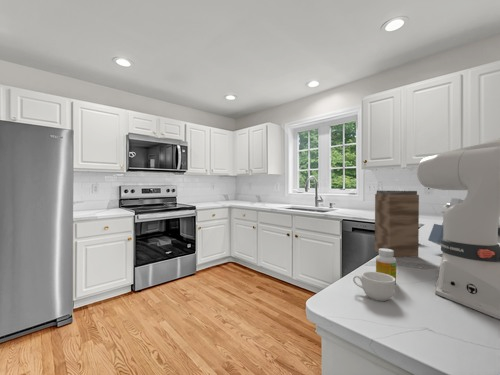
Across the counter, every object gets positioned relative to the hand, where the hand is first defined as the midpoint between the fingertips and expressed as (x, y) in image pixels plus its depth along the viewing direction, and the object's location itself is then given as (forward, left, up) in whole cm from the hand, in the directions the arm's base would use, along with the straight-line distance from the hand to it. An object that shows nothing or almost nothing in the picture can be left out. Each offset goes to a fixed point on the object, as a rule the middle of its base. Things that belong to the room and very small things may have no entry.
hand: (452, 205), depth 111 cm
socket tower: (0, +27, -21) cm, 35 cm away
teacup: (-39, +63, -22) cm, 78 cm away
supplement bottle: (-30, +53, -22) cm, 65 cm away
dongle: (0, 0, -8) cm, 8 cm away
